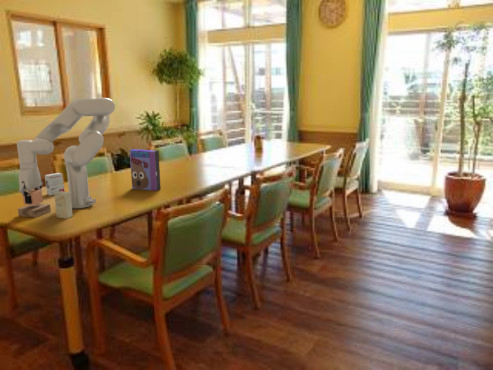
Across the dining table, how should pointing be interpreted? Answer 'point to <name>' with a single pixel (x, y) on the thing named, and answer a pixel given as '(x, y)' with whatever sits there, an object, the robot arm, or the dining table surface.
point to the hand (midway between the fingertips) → (33, 201)
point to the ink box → (54, 183)
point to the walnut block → (34, 210)
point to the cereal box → (145, 169)
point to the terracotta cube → (35, 197)
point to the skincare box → (63, 204)
